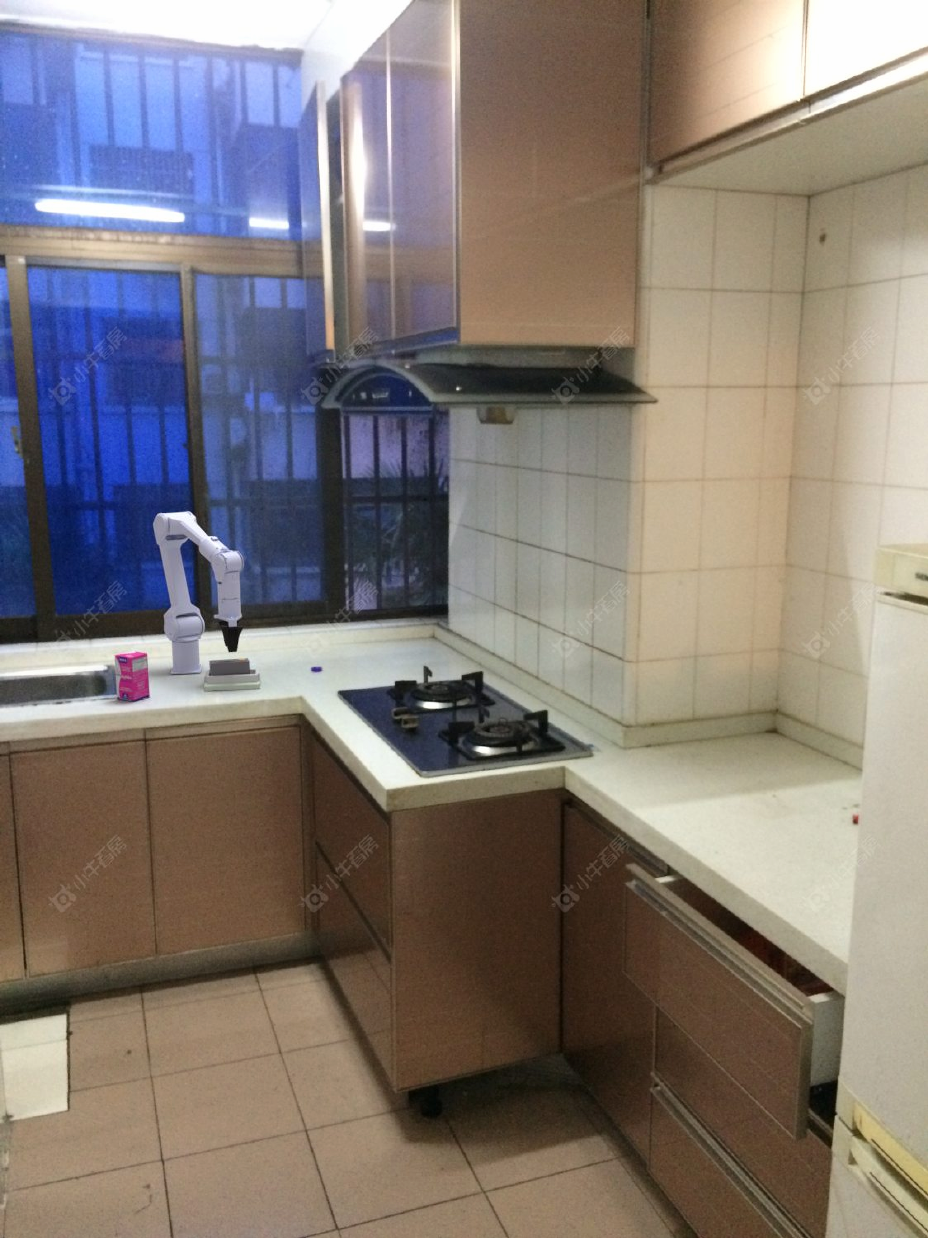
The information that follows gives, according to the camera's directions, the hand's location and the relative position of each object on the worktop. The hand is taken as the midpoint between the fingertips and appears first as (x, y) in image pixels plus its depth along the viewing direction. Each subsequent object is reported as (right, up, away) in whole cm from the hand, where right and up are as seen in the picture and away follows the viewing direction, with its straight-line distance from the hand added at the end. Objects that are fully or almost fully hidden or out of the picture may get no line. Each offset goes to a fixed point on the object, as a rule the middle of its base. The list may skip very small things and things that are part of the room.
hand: (231, 649), depth 271 cm
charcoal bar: (0, -8, +1) cm, 8 cm away
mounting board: (0, -9, +2) cm, 9 cm away
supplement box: (-21, -12, -13) cm, 28 cm away
